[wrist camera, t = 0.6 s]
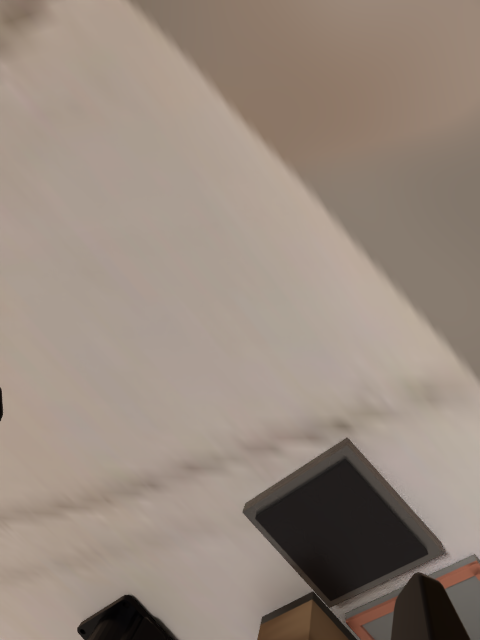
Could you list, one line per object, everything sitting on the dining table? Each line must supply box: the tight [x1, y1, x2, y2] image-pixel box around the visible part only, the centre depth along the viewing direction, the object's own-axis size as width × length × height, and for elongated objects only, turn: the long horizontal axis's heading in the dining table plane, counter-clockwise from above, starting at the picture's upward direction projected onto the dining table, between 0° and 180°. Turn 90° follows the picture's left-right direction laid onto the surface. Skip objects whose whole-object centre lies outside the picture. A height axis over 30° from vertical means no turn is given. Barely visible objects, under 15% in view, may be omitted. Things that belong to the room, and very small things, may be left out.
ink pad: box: [243, 438, 444, 608], centre depth 24 cm, size 8×8×1 cm
